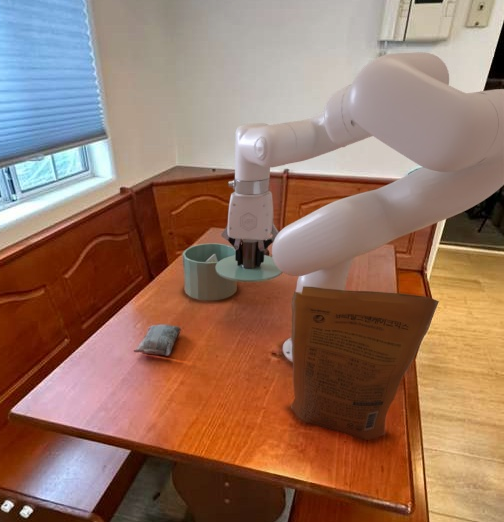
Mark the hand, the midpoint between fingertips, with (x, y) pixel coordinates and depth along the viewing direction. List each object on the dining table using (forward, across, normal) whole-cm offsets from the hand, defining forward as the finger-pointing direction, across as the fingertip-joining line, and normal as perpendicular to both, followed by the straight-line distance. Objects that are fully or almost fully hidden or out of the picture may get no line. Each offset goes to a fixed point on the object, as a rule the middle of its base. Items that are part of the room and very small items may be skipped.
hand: (249, 263), depth 98 cm
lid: (+1, 0, 0) cm, 1 cm away
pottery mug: (+15, -5, +39) cm, 42 cm away
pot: (+15, -14, +14) cm, 25 cm away
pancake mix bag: (+16, +23, -34) cm, 44 cm away
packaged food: (+16, -18, -19) cm, 31 cm away
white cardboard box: (+15, -14, +14) cm, 25 cm away
